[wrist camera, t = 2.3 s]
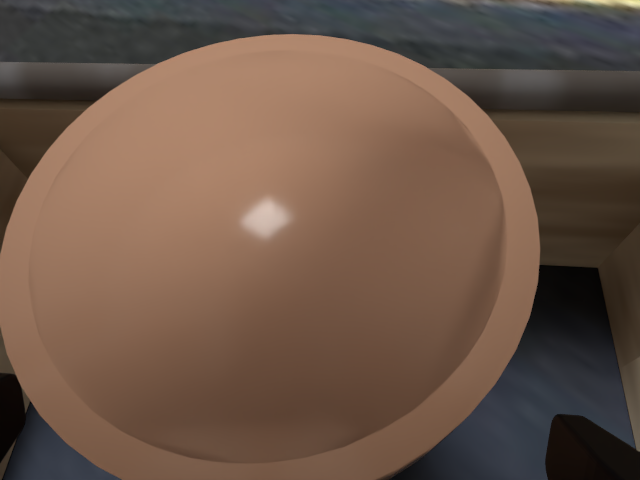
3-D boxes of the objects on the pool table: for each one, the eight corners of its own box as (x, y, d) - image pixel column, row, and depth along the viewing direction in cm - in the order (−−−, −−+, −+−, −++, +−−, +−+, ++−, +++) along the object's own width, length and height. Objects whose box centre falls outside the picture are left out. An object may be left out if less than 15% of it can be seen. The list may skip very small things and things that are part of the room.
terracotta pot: (327, 578, 15) (266, 703, 4) (175, 415, 18) (-100, 237, 7) (463, 395, 18) (641, 180, 7) (311, 274, 20) (265, -17, 9)
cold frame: (751, 792, 12) (1420, 1233, 5) (-103, 677, 14) (-634, 851, 7) (618, 242, 20) (785, 61, 12) (74, 218, 22) (-76, 50, 14)
